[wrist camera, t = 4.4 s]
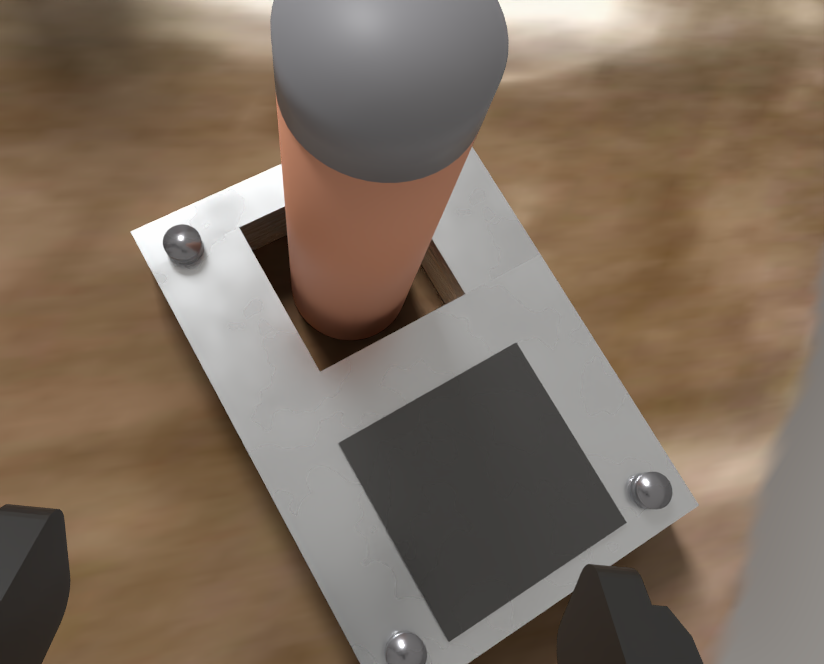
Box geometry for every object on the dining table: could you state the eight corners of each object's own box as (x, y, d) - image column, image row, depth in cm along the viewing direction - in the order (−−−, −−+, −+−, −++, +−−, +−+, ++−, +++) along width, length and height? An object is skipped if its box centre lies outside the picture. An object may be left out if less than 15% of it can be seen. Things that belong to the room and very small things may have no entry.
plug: (271, 262, 31) (226, -23, 15) (370, 213, 32) (433, -99, 16) (326, 360, 30) (345, 176, 14) (426, 307, 31) (551, 81, 15)
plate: (147, 259, 30) (126, 225, 27) (427, 129, 34) (441, 85, 30) (380, 696, 27) (390, 722, 24) (662, 506, 31) (707, 505, 27)
